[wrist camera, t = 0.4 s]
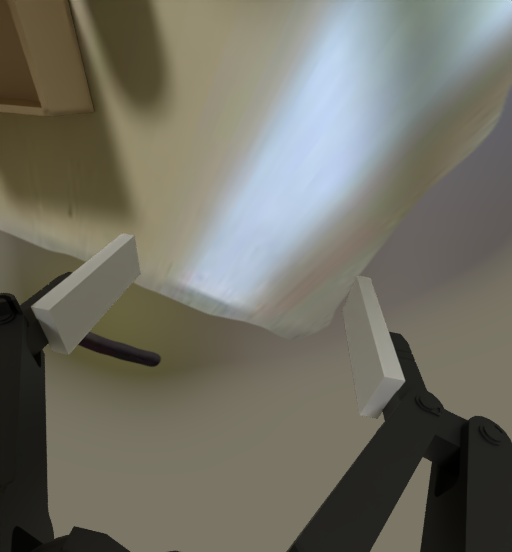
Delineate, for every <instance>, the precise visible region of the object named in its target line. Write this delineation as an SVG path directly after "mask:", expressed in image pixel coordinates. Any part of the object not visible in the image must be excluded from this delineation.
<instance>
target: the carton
mask: <svg viewBox="0 0 512 552" xmlns="http://www.w3.org/2000/svg"><path fill="white" fill-rule="evenodd" d="M0 112H7V113H17V114H28V115H38V116H49V117H53V116H62V115H72V114H81V113H90V112H94V109H93V104H92V100H91V96H90V92H89V87H88V83H87V79H86V75H85V70H84V66H83V62H82V58H81V53H80V49H79V45H78V40H77V36H76V32H75V28H74V23H73V19H72V15H71V11H70V6H69V2H68V0H0Z"/></svg>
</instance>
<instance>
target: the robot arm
mask: <svg viewBox="0 0 512 552" xmlns="http://www.w3.org/2000/svg"><path fill="white" fill-rule="evenodd" d="M139 275H140V267H139V260H138V254H137V248H136V242H135V236H134V235H129V234H123V233H122V234H121V235H119V236H118V237H117V238H116V239H114V240H113V241H112V242H111V243H109V244H108V245H107V246H106V247H104V248H103V249H102V250H101V251H99V252H98V253H97V254H96V255H94V256H93V257H92V258H91V259H89V260H88V261H87V262H86V263H84V264H83V265H82V266H81V267H80V268H79V269H77V270H76V271H75V272H67V273H65V274H63V275H61V276H58V277H57V278H55V279H54V280H53V281H52V282H50V284H49V285H46V286H45V287H44V288H43V289H42V290H40V291H39V292H37V293H36V294H35V295H33V296H32V297H31V298H29V299H28V300H27V301H26V302H24V303H23V304H22V305H19V303H18V301H17V300H16V298H15V296H14V295H12V294H9V293H0V552H130V551H129V550H127V549H126V548H125V547H123V546H122V545H120V544H119V543H118V542H116V541H115V540H114V539H112V538H111V537H110V536H108V535H107V534H104V533H100V532H96V531H92V530H88V529H83V528H79V527H75V526H74V527H73V529H72V531H71V533H70V535H66V536H62V537H58V538H56V539H54V532H53V527H52V523H51V520H50V517H49V512H48V492H47V446H46V400H45V357H44V356H45V354H44V352H43V350H42V349H43V348H44V347H45V346H46V345H47V344H48V343H49V345H50V347H51V349H52V351H53V352H57V353H62V354H67V355H69V354H70V353H71V352H72V350H73V349H74V348H75V347H76V346H77V345H78V344H79V343H80V341H81V340H82V339H83V338H84V337H85V336H86V335H87V333H88V332H89V331H90V330H91V329H92V328H93V327H94V326H95V324H96V323H97V322H98V321H99V320H100V319H101V318H102V316H103V315H104V314H105V313H106V312H107V311H108V310H109V309H110V307H111V306H112V305H113V304H114V303H115V302H116V301H117V299H118V298H119V297H120V296H121V295H122V294H123V293H124V292H125V290H126V289H127V288H128V287H129V286H130V285H131V284H132V282H133V281H134V280H135V279H136V278H137V277H138V276H139ZM342 312H343V318H344V325H345V331H346V337H347V343H348V349H349V355H350V361H351V368H352V373H353V380H354V386H355V392H356V398H357V404H358V411H359V415H362V416H367V417H372V418H376V419H377V418H378V417H379V416H380V414H381V413H382V412H383V415H384V419H385V422H384V423H383V425H382V426H381V427H380V428H379V430H378V431H377V432H376V434H375V435H374V436H373V438H372V439H371V441H370V442H369V443H368V444H367V446H366V447H365V448H364V450H363V451H362V452H361V454H360V455H359V456H358V458H357V459H356V460H355V462H354V463H353V464H352V466H351V467H350V468H349V470H348V471H347V472H346V474H345V475H344V476H343V478H342V479H341V480H340V481H339V483H338V484H337V485H336V487H335V488H334V490H333V491H332V492H331V493H330V495H329V496H328V497H327V499H326V500H325V501H324V503H323V504H322V505H321V507H320V508H319V509H318V511H317V512H316V513H315V515H314V516H313V517H312V519H311V520H310V521H309V523H308V524H307V525H306V527H305V528H304V529H303V531H302V532H301V533H300V535H299V536H298V537H297V539H296V540H295V541H294V543H293V544H292V545H291V547H290V548H289V549H288V550H287V552H370V550H371V548H372V546H373V544H374V543H375V541H376V539H377V538H378V536H379V534H380V532H381V530H382V529H383V527H384V525H385V523H386V521H387V520H388V518H389V516H390V514H391V512H392V510H393V509H394V507H395V505H396V503H397V502H398V500H399V498H400V496H401V495H402V493H403V491H404V489H405V487H406V486H407V484H408V482H409V480H410V478H411V477H412V475H413V473H414V471H415V469H416V468H417V466H418V464H419V462H420V460H421V459H422V457H424V458H426V459H428V460H430V461H432V466H431V474H430V481H429V489H428V496H427V504H426V512H425V519H424V527H423V535H422V543H421V550H420V552H512V442H511V440H510V438H509V437H508V436H507V434H506V433H505V431H504V430H503V429H502V428H500V426H498V425H497V424H496V423H494V422H493V421H491V420H490V419H487V418H485V417H482V416H474V417H472V418H470V419H469V420H466V419H464V418H461V417H459V416H457V415H455V414H453V413H451V412H449V411H447V410H445V409H444V407H443V405H442V404H441V402H440V401H439V400H438V399H437V398H436V397H435V396H434V395H433V394H432V393H430V392H428V391H427V389H426V387H425V385H424V382H423V380H422V377H421V374H420V372H419V369H418V367H417V364H416V362H415V360H414V357H413V355H412V354H411V353H412V352H411V350H410V347H409V344H408V342H407V341H406V340H405V339H404V338H403V336H402V335H401V334H398V333H392V332H389V331H388V329H387V325H386V322H385V320H384V317H383V313H382V310H381V308H380V305H379V302H378V299H377V296H376V293H375V290H374V287H373V284H372V281H371V278H368V277H363V276H356V279H355V281H354V284H353V286H352V289H351V291H350V293H349V296H348V299H347V301H346V303H345V306H344V308H343V311H342ZM170 552H178V551H170Z"/></svg>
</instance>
